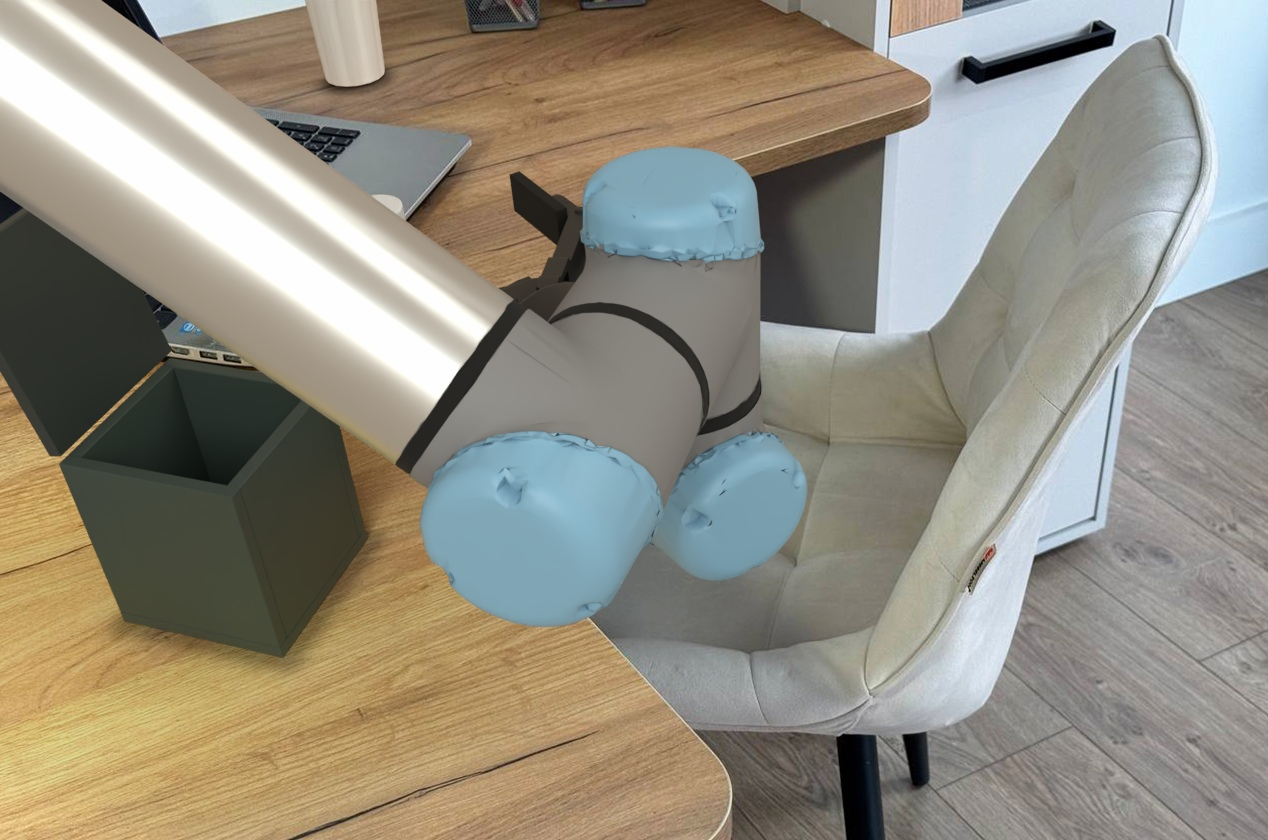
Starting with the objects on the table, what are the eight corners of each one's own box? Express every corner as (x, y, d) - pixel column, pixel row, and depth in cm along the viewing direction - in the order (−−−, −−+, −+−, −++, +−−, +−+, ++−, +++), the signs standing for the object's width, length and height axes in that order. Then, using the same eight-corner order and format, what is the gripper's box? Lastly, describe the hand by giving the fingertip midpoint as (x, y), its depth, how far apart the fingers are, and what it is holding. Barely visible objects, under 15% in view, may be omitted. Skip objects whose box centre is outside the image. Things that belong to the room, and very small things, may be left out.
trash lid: (84, 171, 70) (72, 172, 70) (-50, 266, 62) (-62, 267, 62) (172, 350, 76) (162, 351, 76) (60, 457, 68) (49, 457, 69)
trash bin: (367, 538, 80) (329, 382, 73) (283, 658, 73) (231, 497, 66) (219, 509, 83) (169, 357, 76) (123, 621, 76) (57, 463, 69)
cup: (314, 70, 141) (285, -65, 132) (389, 58, 143) (366, -76, 134) (320, 98, 135) (290, -41, 126) (398, 86, 136) (374, -53, 128)
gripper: (384, 514, 68) (254, 333, 83) (773, 350, 78) (594, 215, 92) (356, 397, 64) (224, 228, 78) (773, 239, 73) (584, 115, 88)
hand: (424, 221), depth 85 cm, fingers open, 13 cm apart
